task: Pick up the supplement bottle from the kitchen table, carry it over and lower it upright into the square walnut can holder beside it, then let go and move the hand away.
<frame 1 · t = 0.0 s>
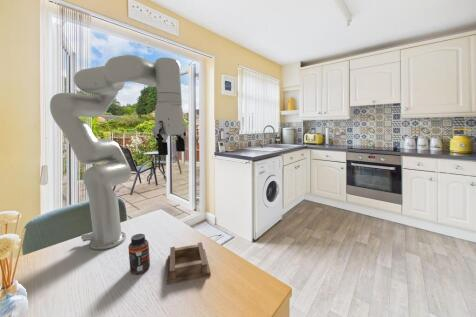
hand: (172, 153, 70), 37 cm above the table, tool pointing down, fingers open, 9 cm apart
can holder: (188, 266, 70), on the table
supplement bottle: (140, 269, 69), on the table
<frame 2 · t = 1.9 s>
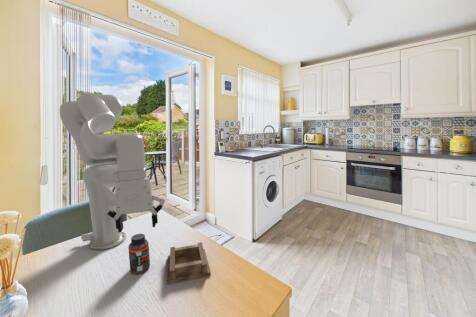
hand: (138, 227, 66), 14 cm above the table, tool pointing down, fingers open, 9 cm apart
nothing on the table moved.
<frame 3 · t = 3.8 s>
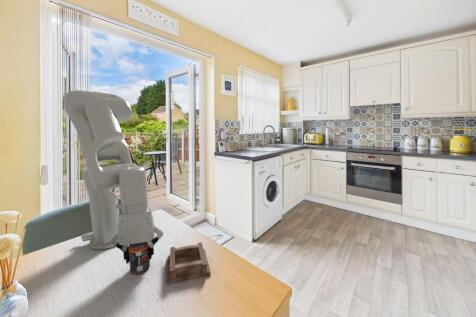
hand: (139, 258, 68), 4 cm above the table, tool pointing down, fingers closed on supplement bottle, 6 cm apart
supplement bottle: (140, 269, 69), on the table, touching gripper
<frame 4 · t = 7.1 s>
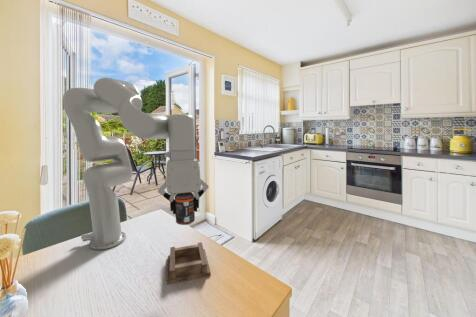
hand: (185, 210, 67), 19 cm above the table, tool pointing down, fingers closed on supplement bottle, 6 cm apart
supplement bottle: (185, 222, 67), point 16 cm above the table, touching gripper
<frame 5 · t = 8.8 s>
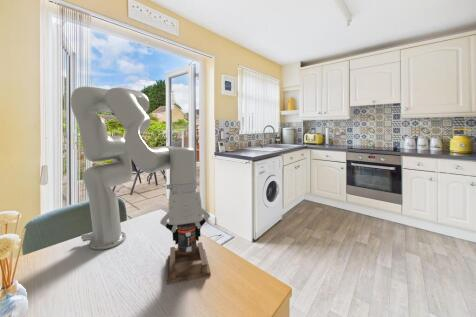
hand: (187, 239, 68), 9 cm above the table, tool pointing down, fingers closed on supplement bottle, 6 cm apart
supplement bottle: (187, 250, 69), point 6 cm above the table, touching gripper
when the fingers open (6 cm above the table, at t = 10.4 s): supplement bottle drops 1 cm, resting on can holder.
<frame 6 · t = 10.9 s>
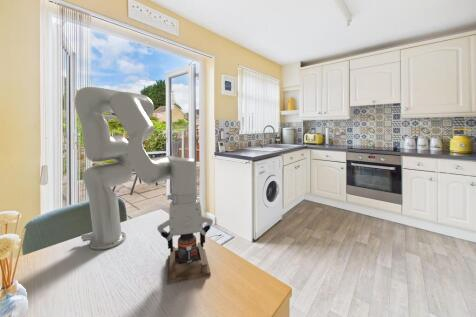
hand: (187, 247, 69), 7 cm above the table, tool pointing down, fingers open, 9 cm apart
supplement bottle: (188, 263, 70), point 1 cm above the table, touching can holder
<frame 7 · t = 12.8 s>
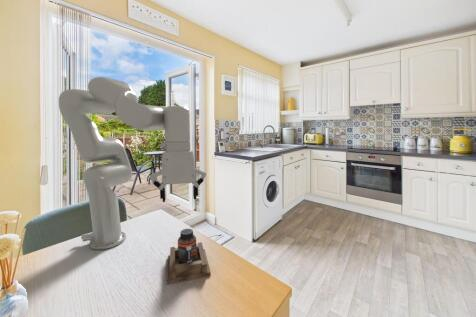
hand: (179, 199, 68), 23 cm above the table, tool pointing down, fingers open, 9 cm apart
nothing on the table moved.
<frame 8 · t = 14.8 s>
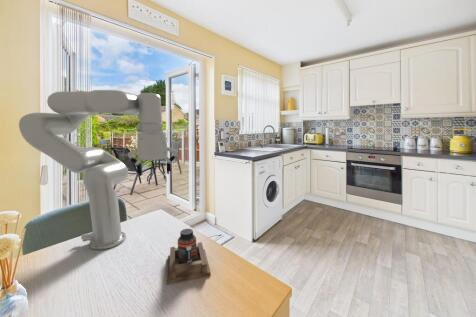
hand: (154, 174, 79), 28 cm above the table, tool pointing down, fingers open, 9 cm apart
nothing on the table moved.
at the end: supplement bottle 0.1 cm off-centre on the can holder, point 0.8 cm above the can holder's base; supplement bottle tilted 0°; the gripper is holding nothing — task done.
